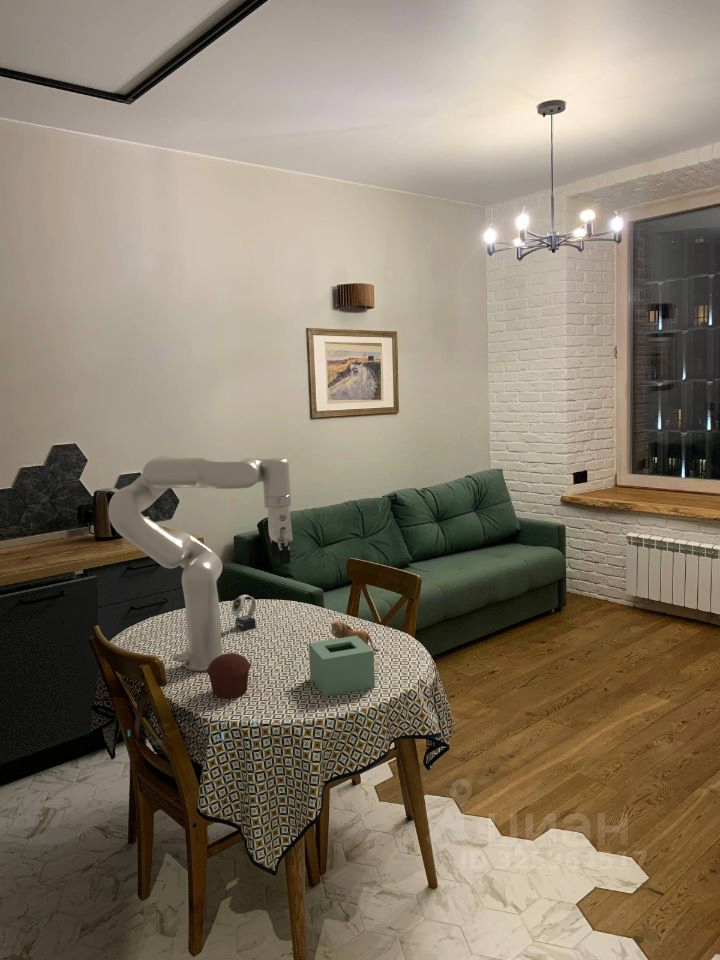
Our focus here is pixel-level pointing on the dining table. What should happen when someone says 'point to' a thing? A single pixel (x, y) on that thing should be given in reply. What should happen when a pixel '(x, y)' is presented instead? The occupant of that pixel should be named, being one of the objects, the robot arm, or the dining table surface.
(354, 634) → the lion figurine
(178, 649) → the dining table surface
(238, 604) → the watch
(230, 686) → the muffin
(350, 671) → the money box
